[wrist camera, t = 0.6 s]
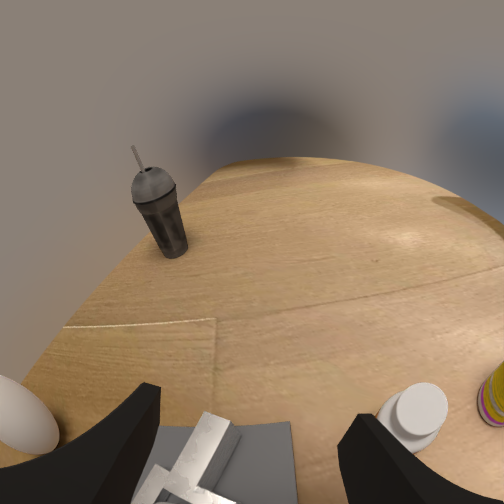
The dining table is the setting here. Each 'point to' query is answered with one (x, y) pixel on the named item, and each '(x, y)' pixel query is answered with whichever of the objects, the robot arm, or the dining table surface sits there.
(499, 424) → the supplement bottle
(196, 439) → the square nut with handle
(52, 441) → the white squeeze bulb
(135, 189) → the beverage cup
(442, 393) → the supplement bottle
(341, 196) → the dining table surface
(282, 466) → the base
